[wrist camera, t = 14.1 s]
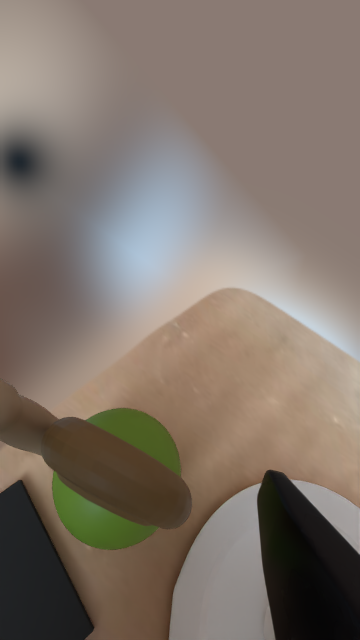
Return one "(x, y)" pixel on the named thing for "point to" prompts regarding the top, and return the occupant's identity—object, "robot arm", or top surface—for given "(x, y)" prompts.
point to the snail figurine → (102, 469)
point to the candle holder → (240, 568)
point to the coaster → (34, 577)
